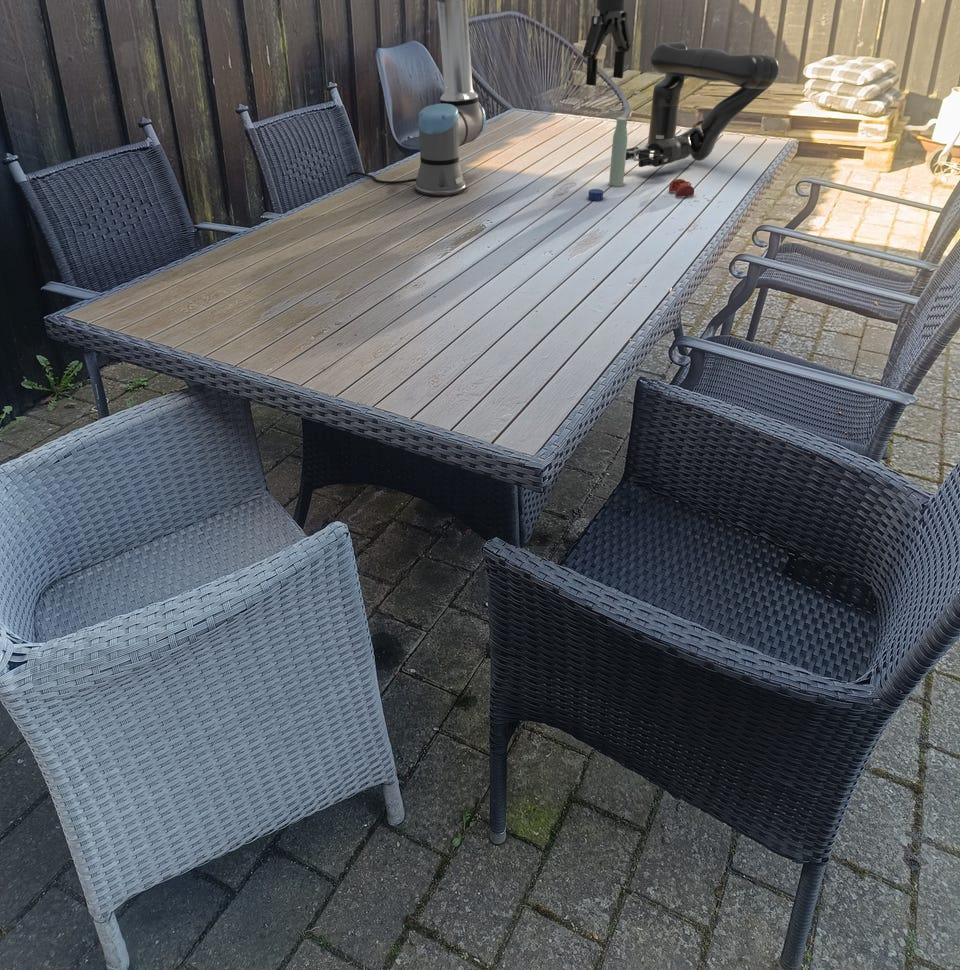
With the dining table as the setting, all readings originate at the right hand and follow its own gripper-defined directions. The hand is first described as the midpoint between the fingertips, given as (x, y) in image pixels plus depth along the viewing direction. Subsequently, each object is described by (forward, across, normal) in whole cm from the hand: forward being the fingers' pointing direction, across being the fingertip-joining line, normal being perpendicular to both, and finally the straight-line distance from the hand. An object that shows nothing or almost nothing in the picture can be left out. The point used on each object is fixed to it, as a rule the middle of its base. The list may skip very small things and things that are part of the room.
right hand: (629, 160), depth 263 cm
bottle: (+6, 0, +6) cm, 8 cm away
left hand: (+21, +7, -26) cm, 34 cm away
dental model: (-2, +20, +6) cm, 21 cm away
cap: (+21, +7, +4) cm, 23 cm away
